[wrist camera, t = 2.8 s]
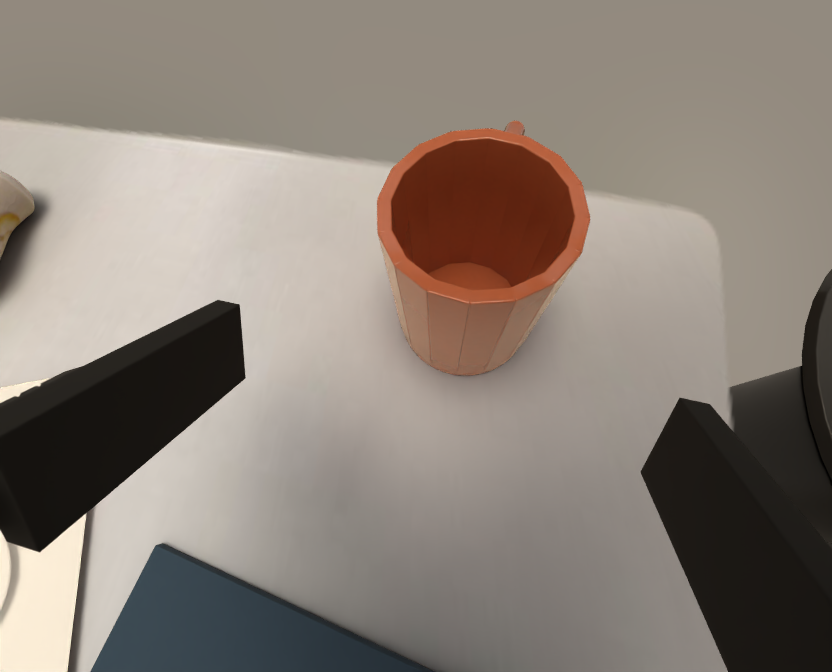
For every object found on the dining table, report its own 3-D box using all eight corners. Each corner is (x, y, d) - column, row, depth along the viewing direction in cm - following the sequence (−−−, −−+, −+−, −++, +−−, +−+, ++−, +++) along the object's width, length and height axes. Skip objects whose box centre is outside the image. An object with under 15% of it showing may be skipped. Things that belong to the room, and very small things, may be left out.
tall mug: (508, 393, 24) (562, 332, 13) (382, 352, 25) (344, 266, 15) (551, 243, 27) (620, 102, 17) (438, 213, 29) (439, 66, 18)
